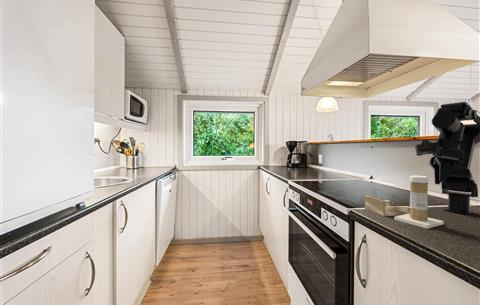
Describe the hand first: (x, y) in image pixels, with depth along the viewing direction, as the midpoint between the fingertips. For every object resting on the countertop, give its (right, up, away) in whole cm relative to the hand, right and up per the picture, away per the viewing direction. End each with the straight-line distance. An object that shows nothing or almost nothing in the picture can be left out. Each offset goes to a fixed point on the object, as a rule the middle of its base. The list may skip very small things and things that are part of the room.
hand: (439, 182), depth 74 cm
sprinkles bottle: (-10, -11, -4) cm, 16 cm away
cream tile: (-11, -12, -4) cm, 16 cm away
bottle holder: (-13, -11, +7) cm, 19 cm away
